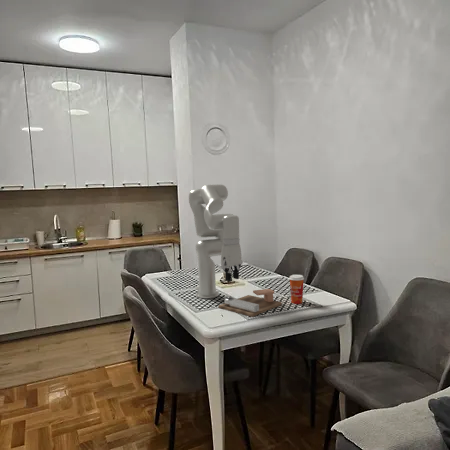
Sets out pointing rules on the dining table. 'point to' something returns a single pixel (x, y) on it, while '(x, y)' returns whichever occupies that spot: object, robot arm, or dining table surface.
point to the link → (241, 304)
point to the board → (253, 299)
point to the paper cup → (296, 288)
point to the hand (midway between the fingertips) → (232, 279)
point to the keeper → (265, 294)
